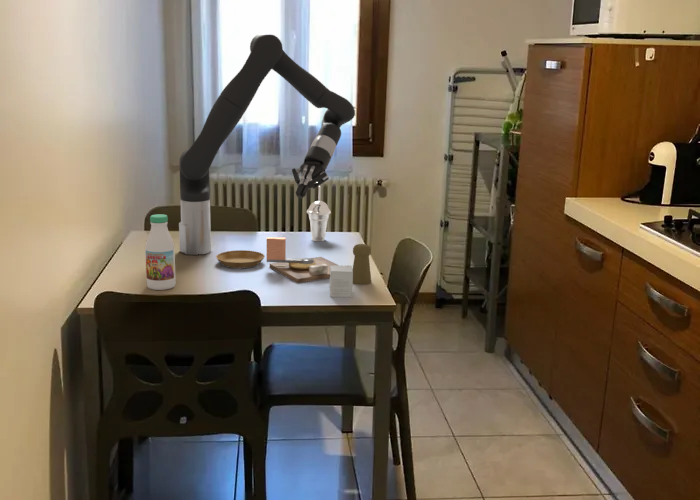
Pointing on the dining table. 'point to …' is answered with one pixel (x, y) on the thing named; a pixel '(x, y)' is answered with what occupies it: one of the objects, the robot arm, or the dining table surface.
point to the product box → (341, 281)
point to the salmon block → (278, 254)
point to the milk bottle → (160, 255)
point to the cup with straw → (318, 218)
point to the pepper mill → (361, 264)
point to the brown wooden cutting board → (313, 273)
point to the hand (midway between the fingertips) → (299, 196)
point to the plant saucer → (240, 258)
